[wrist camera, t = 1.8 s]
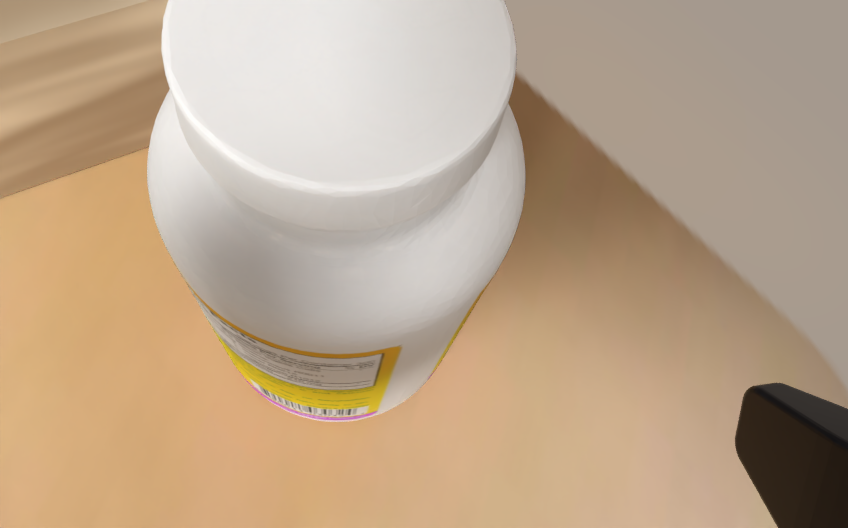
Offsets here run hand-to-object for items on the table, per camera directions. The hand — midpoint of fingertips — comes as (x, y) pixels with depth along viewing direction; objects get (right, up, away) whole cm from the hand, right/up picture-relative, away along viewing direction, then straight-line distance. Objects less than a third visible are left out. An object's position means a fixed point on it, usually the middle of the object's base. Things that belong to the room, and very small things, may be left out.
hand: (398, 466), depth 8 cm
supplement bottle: (-2, +1, +13) cm, 13 cm away
